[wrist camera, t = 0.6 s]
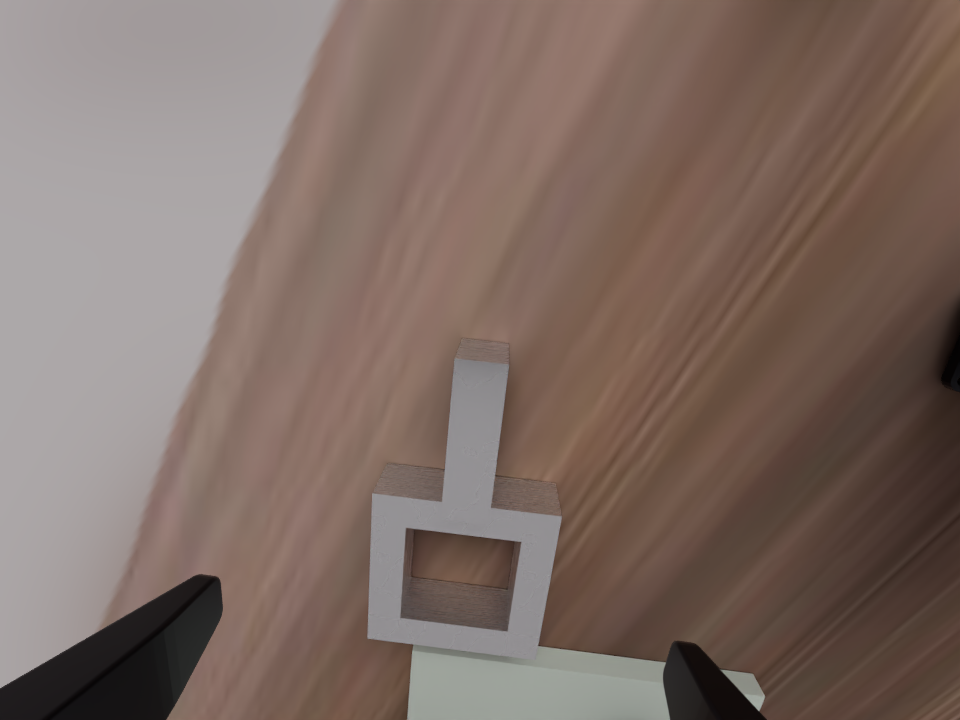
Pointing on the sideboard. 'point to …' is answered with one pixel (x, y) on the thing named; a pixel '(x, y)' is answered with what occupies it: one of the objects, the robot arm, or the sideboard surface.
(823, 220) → the sideboard surface
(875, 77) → the sideboard surface
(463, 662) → the keeper board
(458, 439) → the steel link
